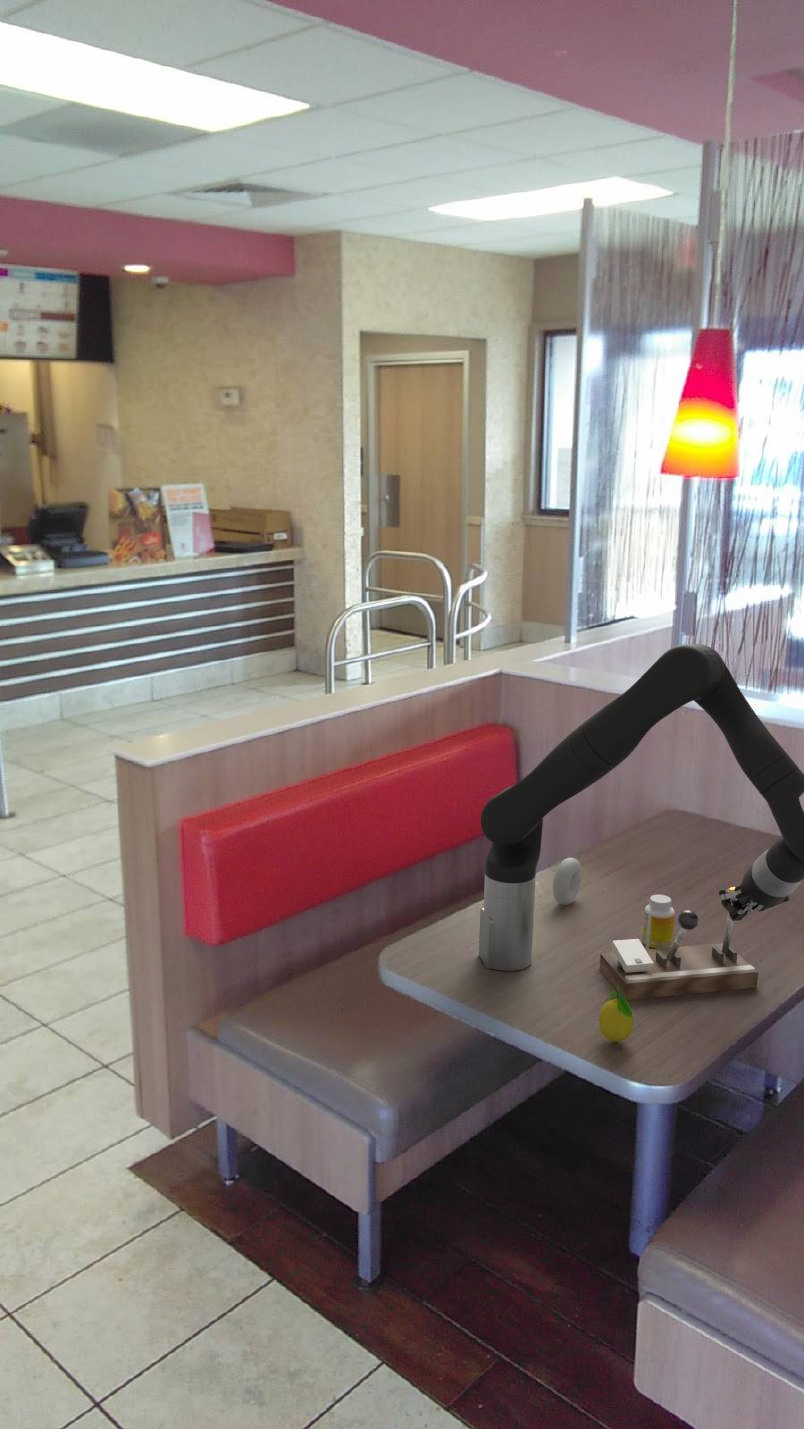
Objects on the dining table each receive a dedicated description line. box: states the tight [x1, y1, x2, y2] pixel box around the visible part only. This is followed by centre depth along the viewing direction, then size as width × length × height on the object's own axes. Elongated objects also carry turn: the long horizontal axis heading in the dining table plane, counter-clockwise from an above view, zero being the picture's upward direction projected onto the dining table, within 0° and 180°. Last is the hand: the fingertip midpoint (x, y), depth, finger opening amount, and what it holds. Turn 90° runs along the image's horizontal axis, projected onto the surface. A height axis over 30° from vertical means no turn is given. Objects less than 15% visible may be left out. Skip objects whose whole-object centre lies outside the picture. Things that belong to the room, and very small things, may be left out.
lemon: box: [598, 986, 635, 1043], centre depth 181 cm, size 7×6×10 cm
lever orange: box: [722, 886, 736, 955], centre depth 202 cm, size 3×3×13 cm
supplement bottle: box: [642, 894, 675, 950], centre depth 214 cm, size 6×6×10 cm
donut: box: [552, 857, 583, 906], centre depth 234 cm, size 10×4×10 cm, turn 149°
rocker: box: [611, 938, 654, 973], centre depth 201 cm, size 5×7×2 cm
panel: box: [599, 942, 759, 1001], centre depth 203 cm, size 25×12×5 cm, turn 102°
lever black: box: [666, 909, 699, 961], centre depth 197 cm, size 3×3×14 cm
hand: (734, 915), depth 200 cm, fingers closed
